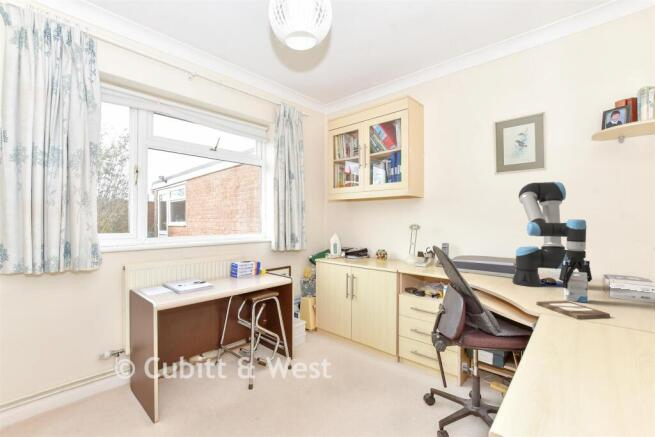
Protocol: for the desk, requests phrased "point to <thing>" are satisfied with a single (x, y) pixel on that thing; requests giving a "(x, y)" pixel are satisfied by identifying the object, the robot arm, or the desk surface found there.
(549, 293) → the desk surface
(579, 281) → the ink box
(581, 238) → the robot arm
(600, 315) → the stand board
